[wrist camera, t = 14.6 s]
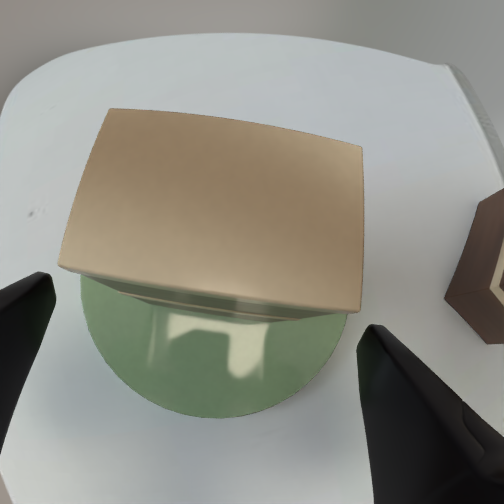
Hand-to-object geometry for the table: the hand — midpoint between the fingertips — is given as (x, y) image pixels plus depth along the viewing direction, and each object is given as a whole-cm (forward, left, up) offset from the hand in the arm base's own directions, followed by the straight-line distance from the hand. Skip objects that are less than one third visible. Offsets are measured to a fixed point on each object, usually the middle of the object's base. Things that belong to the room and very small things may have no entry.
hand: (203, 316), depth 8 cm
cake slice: (+2, 0, -8) cm, 8 cm away
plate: (+2, 0, -9) cm, 9 cm away
